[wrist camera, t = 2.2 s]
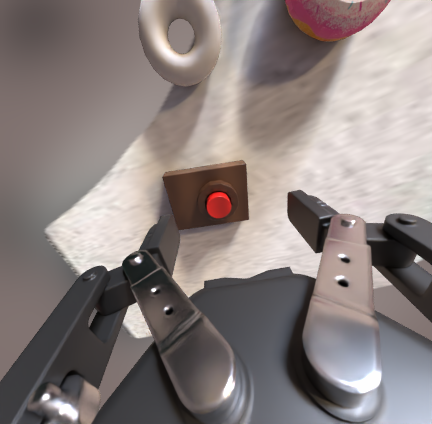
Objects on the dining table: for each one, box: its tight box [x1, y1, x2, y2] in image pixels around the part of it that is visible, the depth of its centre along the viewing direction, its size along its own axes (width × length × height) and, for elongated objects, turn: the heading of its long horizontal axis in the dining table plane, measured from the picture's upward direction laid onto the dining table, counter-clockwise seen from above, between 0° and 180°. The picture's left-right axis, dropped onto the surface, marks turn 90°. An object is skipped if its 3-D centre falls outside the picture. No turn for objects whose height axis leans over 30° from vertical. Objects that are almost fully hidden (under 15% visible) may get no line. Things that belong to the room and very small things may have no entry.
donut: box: [138, 0, 222, 86], centre depth 21 cm, size 10×4×10 cm
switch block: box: [162, 160, 249, 230], centre depth 32 cm, size 14×11×4 cm
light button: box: [206, 192, 231, 218], centre depth 29 cm, size 4×4×2 cm
